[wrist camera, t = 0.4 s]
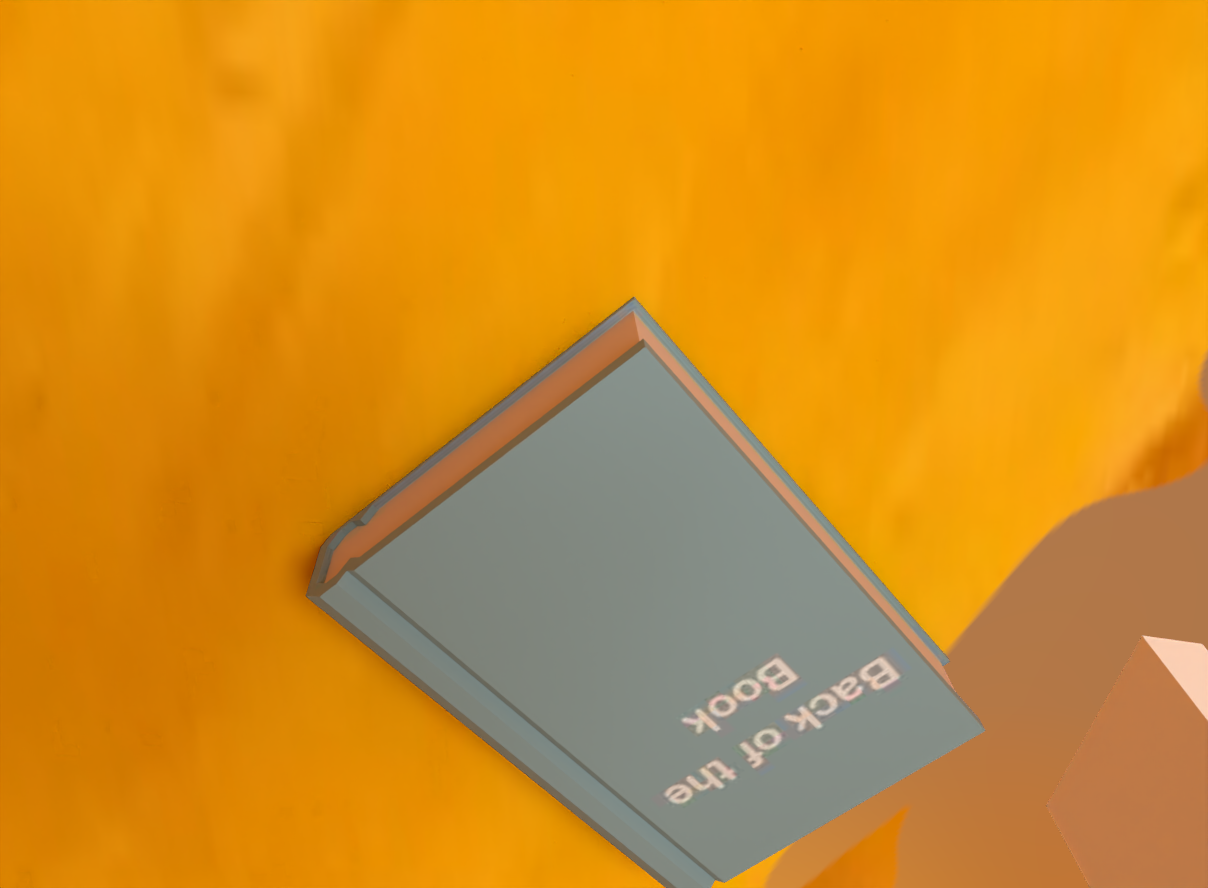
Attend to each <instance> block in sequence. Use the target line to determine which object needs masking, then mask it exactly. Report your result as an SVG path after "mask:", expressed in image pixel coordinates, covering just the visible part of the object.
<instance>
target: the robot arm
mask: <svg viewBox="0 0 1208 888" xmlns="http://www.w3.org/2000/svg"><path fill="white" fill-rule="evenodd" d="M1046 807H1047V808H1048V810H1049V812H1050V814H1051V816H1052V818H1053V820H1054V821H1055V824H1056V825H1057V827H1058V829H1059V831H1060V833H1061V835H1062V837H1063V838H1064V840H1065V842H1066V844H1067V846H1068V848H1069V850H1070V852H1071V854H1072V855H1073V857H1074V859H1075V861H1076V863H1077V865H1078V867H1079V869H1080V870H1081V872H1082V874H1083V876H1084V878H1085V880H1086V882H1087V884H1088V886H1089V887H1090V888H1208V651H1207V649H1206V648H1205V647H1204V646H1203V644H1198V643H1191V642H1184V641H1177V640H1170V639H1162V638H1155V637H1149V636H1142V637H1141V639H1140V640H1139V642H1138V644H1137V646H1136V647H1135V649H1134V651H1133V653H1132V654H1131V656H1130V658H1129V660H1128V662H1127V664H1126V665H1125V667H1124V669H1123V670H1122V672H1121V674H1120V676H1119V677H1118V679H1117V681H1116V683H1115V685H1114V686H1113V688H1112V690H1111V692H1110V694H1109V695H1108V697H1107V699H1106V701H1105V702H1104V704H1103V706H1102V708H1101V709H1100V711H1099V713H1098V715H1097V716H1096V718H1095V720H1094V722H1093V724H1092V725H1091V727H1090V729H1089V731H1088V732H1087V734H1086V736H1085V738H1084V739H1083V741H1082V743H1081V745H1080V747H1079V748H1078V750H1077V752H1076V754H1075V755H1074V757H1073V759H1072V761H1071V763H1070V764H1069V766H1068V768H1067V770H1066V771H1065V773H1064V775H1063V777H1062V779H1061V780H1060V782H1059V784H1058V786H1057V787H1056V789H1055V791H1054V793H1053V795H1052V796H1051V798H1050V800H1049V801H1048V804H1047V805H1046Z"/></svg>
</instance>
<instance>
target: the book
mask: <svg viewBox="0 0 1208 888" xmlns="http://www.w3.org/2000/svg"><path fill="white" fill-rule="evenodd" d="M306 597H307V598H308V599H310V600H311V601H312V602H313V603H315V604H316V605H317V606H318V607H320V608H321V609H322V610H323V611H325V612H326V613H327V614H328V615H330V616H331V617H332V618H333V619H334V620H336V621H337V622H338V623H339V624H341V625H342V626H343V627H344V628H346V629H347V630H348V631H349V632H351V633H352V634H353V635H354V636H355V637H357V638H358V639H359V640H360V641H362V642H363V643H364V644H365V645H367V646H368V647H369V648H370V649H372V650H373V651H374V652H375V653H376V654H378V655H379V656H380V657H381V658H383V659H384V660H385V661H386V662H388V663H389V664H390V665H391V666H393V667H394V668H395V669H396V670H397V671H399V672H400V673H401V674H402V675H404V676H405V677H406V678H407V679H409V680H410V681H411V682H412V683H414V684H415V685H416V686H417V687H418V688H420V689H421V690H422V691H423V692H425V693H426V694H427V695H428V696H430V697H431V698H432V699H433V700H435V701H436V702H437V703H438V704H439V705H441V706H442V707H443V708H444V709H446V710H447V711H448V712H449V713H451V714H452V715H453V716H454V717H456V718H457V719H458V720H459V721H461V722H462V723H463V724H464V725H465V726H467V727H468V728H469V729H470V730H472V731H473V732H474V733H475V734H477V735H478V736H479V737H480V738H482V739H483V740H484V741H485V742H486V743H488V744H489V745H490V746H491V747H493V748H494V749H495V750H496V751H498V752H499V753H500V754H501V755H503V756H504V757H505V758H506V759H507V760H509V761H510V762H511V763H512V764H514V765H515V766H516V767H517V768H519V769H520V770H521V771H522V772H524V773H525V774H526V775H527V776H528V777H530V778H531V779H532V780H533V781H535V782H536V783H537V784H538V785H540V786H541V787H542V788H543V789H545V790H546V791H547V792H548V793H549V794H551V795H552V796H553V797H554V798H556V799H557V800H558V801H559V802H561V803H562V804H563V805H564V806H566V807H567V808H568V809H569V810H570V811H572V812H573V813H574V814H575V815H577V816H578V817H579V818H580V819H582V820H583V821H584V822H585V823H587V824H588V825H589V826H590V827H592V828H593V829H594V830H595V831H596V832H598V833H599V834H600V835H601V836H603V837H604V838H605V839H606V840H608V841H609V842H610V843H611V844H613V845H614V846H615V847H616V848H617V849H619V850H620V851H621V852H622V853H624V854H625V855H626V856H627V857H629V858H630V859H631V860H632V861H634V862H635V863H636V864H637V865H638V866H640V867H641V868H642V869H643V870H645V871H646V872H647V873H648V874H650V875H651V876H652V877H653V878H655V879H656V880H657V881H658V882H659V883H661V884H662V885H663V886H664V887H666V888H711V887H712V885H713V883H714V881H715V880H717V881H721V882H724V883H725V882H726V881H728V880H730V879H732V878H733V877H735V876H737V875H738V874H740V873H742V872H744V871H745V870H747V869H749V868H750V867H752V866H754V865H756V864H757V863H759V862H761V861H762V860H764V859H766V858H768V857H769V856H771V855H773V854H775V853H776V852H778V851H780V850H781V849H783V848H785V847H787V846H788V845H790V844H792V843H793V842H795V841H797V840H799V839H800V838H802V837H804V836H805V835H807V834H809V833H811V832H812V831H814V830H816V829H817V828H819V827H821V826H823V825H824V824H826V823H828V822H829V821H831V820H833V819H835V818H836V817H838V816H839V815H841V814H843V813H845V812H847V811H848V810H850V809H852V808H853V807H855V806H857V805H859V804H860V803H862V802H864V801H865V800H867V799H869V798H871V797H872V796H874V795H876V794H877V793H879V792H881V791H883V790H884V789H886V788H888V787H890V786H891V785H893V784H895V783H896V782H898V781H900V780H902V779H903V778H905V777H907V776H908V775H910V774H911V773H913V772H915V771H917V770H919V769H920V768H922V767H924V766H925V765H927V764H929V763H931V762H932V761H934V760H936V759H938V758H939V757H941V756H943V755H944V754H946V753H948V752H950V751H951V750H953V749H955V748H956V747H958V746H960V745H962V744H963V743H965V742H967V741H969V740H970V739H972V738H974V737H975V736H977V735H979V734H981V733H982V732H984V731H985V729H984V727H983V725H982V723H981V721H980V719H979V718H978V717H977V716H976V715H975V714H974V712H973V711H972V710H971V709H970V708H969V707H968V705H967V704H966V703H965V702H964V701H963V700H962V699H961V698H960V696H959V695H958V694H957V693H956V692H955V690H954V688H953V686H952V684H951V682H950V680H949V678H948V676H947V674H946V672H945V670H944V668H943V666H944V665H946V664H947V663H949V662H950V661H949V659H948V657H947V655H945V654H944V653H943V652H942V651H941V650H940V648H939V647H938V646H937V645H936V644H935V643H934V641H933V640H932V639H931V638H930V637H929V636H928V635H927V633H926V632H925V631H924V630H923V629H922V628H921V626H920V625H919V624H918V623H917V622H916V621H915V620H914V618H913V617H912V616H911V615H910V614H909V613H908V612H907V610H906V609H905V608H904V607H903V606H902V605H901V603H900V602H899V601H898V600H897V599H896V598H895V597H894V595H893V594H892V593H891V592H890V591H889V590H888V588H887V587H886V586H885V585H884V584H883V583H882V582H881V580H880V579H879V578H878V577H877V576H876V575H875V574H874V572H873V571H872V570H871V569H870V568H869V567H868V565H867V564H866V563H865V562H864V561H863V560H862V559H861V557H860V556H859V555H858V554H857V553H856V552H855V550H854V549H853V548H852V547H851V546H850V545H849V544H848V542H847V541H846V540H845V539H844V538H843V537H842V536H841V534H840V533H839V532H838V531H837V530H836V529H835V527H834V526H833V525H832V524H831V523H830V522H829V521H828V519H827V518H826V517H825V516H824V515H823V514H822V513H821V511H820V510H819V509H818V508H817V507H816V506H815V504H814V503H813V502H812V501H811V500H810V499H809V498H808V496H807V495H806V494H805V493H804V492H803V491H802V489H801V488H800V487H799V486H798V485H797V484H796V483H795V481H794V480H793V479H792V478H791V477H790V476H789V475H788V473H787V472H786V471H785V470H784V469H783V468H782V466H781V465H780V464H779V463H778V462H777V461H776V460H775V458H774V457H773V456H772V455H771V454H770V453H769V451H768V450H767V449H766V448H765V447H764V446H763V445H762V443H761V442H760V441H759V440H758V439H757V438H756V437H755V435H754V434H753V433H752V432H751V431H750V430H749V428H748V427H747V426H746V425H745V424H744V423H743V422H742V420H741V419H740V418H739V417H738V416H737V415H736V413H735V412H734V411H733V410H732V409H731V408H730V407H729V405H728V404H727V403H726V402H725V401H724V400H723V399H722V397H721V396H720V395H719V394H718V393H717V392H716V390H715V389H714V388H713V387H712V386H711V385H710V384H709V382H708V381H707V380H706V379H705V378H704V377H703V376H702V374H701V373H700V372H699V371H698V370H697V369H696V367H695V366H694V365H693V364H692V363H691V362H690V361H689V359H688V358H687V357H686V356H685V355H684V354H683V352H682V351H681V350H680V349H679V348H678V347H677V346H676V344H675V343H674V342H673V341H672V340H671V339H670V338H669V336H668V335H667V334H666V333H665V332H664V331H663V329H662V328H661V327H660V326H659V325H658V324H657V323H656V321H655V320H654V319H653V318H652V317H651V316H650V314H649V313H648V312H647V311H646V310H645V309H644V308H643V306H642V305H641V304H640V303H639V302H638V301H637V300H636V298H635V297H633V298H632V299H630V300H629V301H628V302H627V303H625V304H624V305H623V306H621V307H620V308H619V309H618V310H616V311H615V312H614V313H612V314H611V315H610V316H609V317H607V318H606V319H605V320H604V321H602V322H601V323H600V324H598V325H597V326H596V327H595V328H593V329H592V330H591V331H590V332H588V333H587V334H586V335H584V336H583V337H582V338H581V339H579V340H578V341H577V342H576V343H574V344H573V345H572V346H570V347H569V348H568V349H567V350H565V351H564V352H563V353H562V354H560V355H559V356H558V357H556V358H555V359H554V360H553V361H551V362H550V363H549V364H548V365H546V366H545V367H544V368H542V369H541V370H540V371H539V372H537V373H536V374H535V375H534V376H532V377H531V378H530V379H528V380H527V381H526V382H525V383H523V384H522V385H521V386H520V387H518V388H517V389H516V390H514V391H513V392H512V393H511V394H509V395H508V396H507V397H506V398H504V399H503V400H502V401H500V402H499V403H498V404H497V405H495V406H494V407H493V408H492V409H490V410H489V411H488V412H486V413H485V414H484V415H483V416H481V417H480V418H479V419H478V420H476V421H475V422H474V423H472V424H471V425H470V426H469V427H467V428H466V429H465V430H463V431H462V432H461V433H460V434H458V435H457V436H456V437H455V438H453V439H452V440H451V441H449V442H448V443H447V444H446V445H444V446H443V447H442V448H441V449H439V450H438V451H437V452H435V453H434V454H433V455H432V456H430V457H429V458H428V459H427V460H425V461H424V462H423V463H421V464H420V465H419V466H418V467H416V468H415V469H414V470H413V471H411V472H410V473H409V474H407V475H406V476H405V477H404V478H402V479H401V480H400V481H399V482H397V483H396V484H395V485H393V486H392V487H391V488H390V489H388V490H387V491H386V492H385V493H383V494H382V495H381V496H379V497H378V498H377V499H376V500H374V501H373V502H372V503H371V504H369V505H368V506H367V507H365V508H364V509H363V510H362V511H360V512H359V513H358V514H357V515H355V516H354V517H353V518H351V519H350V520H349V521H348V522H346V523H345V524H344V525H343V526H341V527H340V528H339V529H337V530H336V531H335V532H334V533H332V534H331V535H330V536H329V538H328V539H327V540H326V541H325V543H324V544H323V545H322V546H321V548H320V551H319V554H318V558H317V561H316V564H315V568H314V571H313V574H312V577H311V581H310V584H309V587H308V590H307V594H306Z"/></svg>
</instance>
